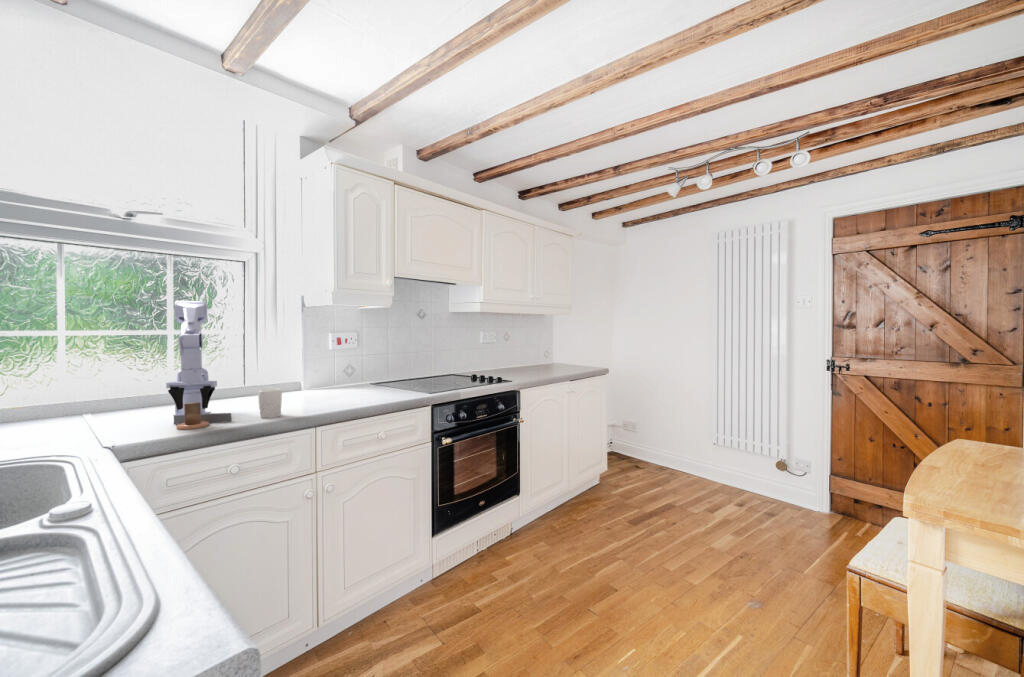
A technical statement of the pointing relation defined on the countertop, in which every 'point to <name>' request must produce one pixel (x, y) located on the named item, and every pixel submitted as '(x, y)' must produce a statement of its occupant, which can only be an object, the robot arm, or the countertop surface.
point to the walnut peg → (192, 413)
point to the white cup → (270, 402)
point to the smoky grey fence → (206, 418)
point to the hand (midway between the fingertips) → (192, 408)
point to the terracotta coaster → (192, 426)
